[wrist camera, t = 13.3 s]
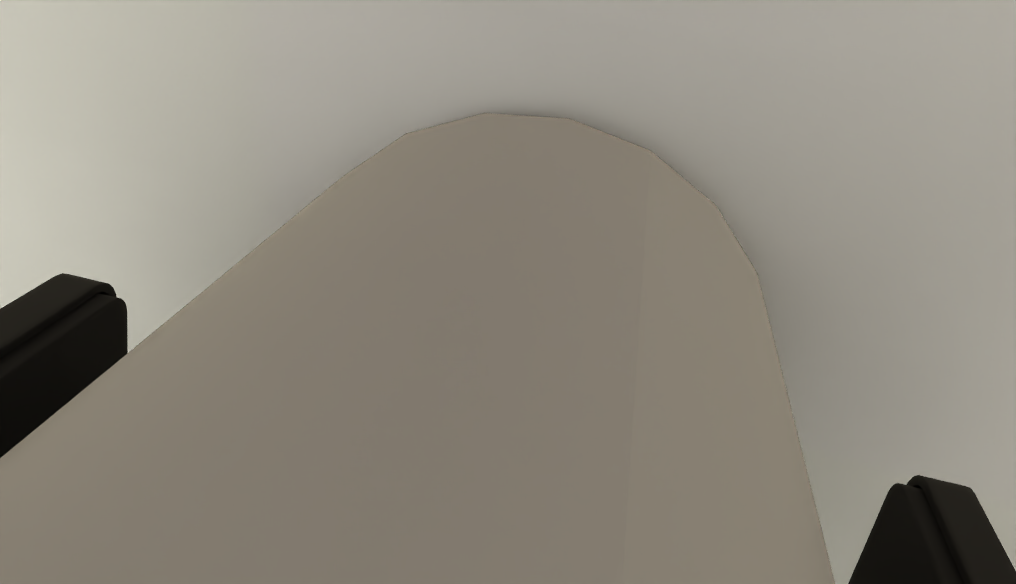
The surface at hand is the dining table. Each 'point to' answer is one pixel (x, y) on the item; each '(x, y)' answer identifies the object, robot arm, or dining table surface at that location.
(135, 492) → the can
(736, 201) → the dining table surface
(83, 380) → the robot arm
